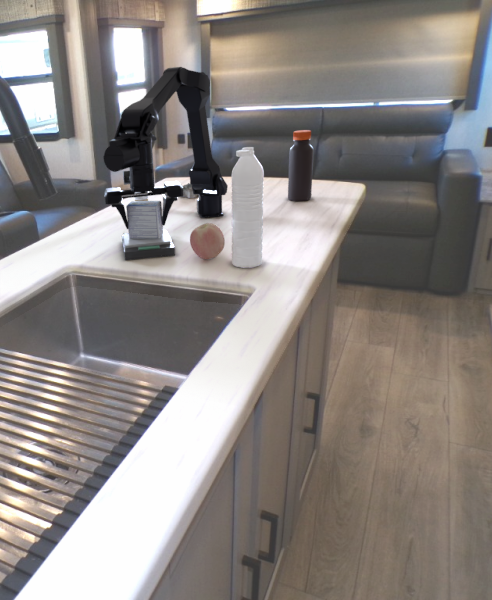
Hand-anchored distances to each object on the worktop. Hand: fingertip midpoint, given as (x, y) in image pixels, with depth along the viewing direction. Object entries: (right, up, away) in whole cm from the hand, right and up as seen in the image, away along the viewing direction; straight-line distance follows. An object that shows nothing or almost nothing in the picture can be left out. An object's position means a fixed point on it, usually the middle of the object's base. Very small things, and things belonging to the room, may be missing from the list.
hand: (145, 226), depth 134 cm
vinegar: (+49, +13, +32) cm, 60 cm away
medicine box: (0, -2, +1) cm, 3 cm away
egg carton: (+20, +18, +50) cm, 57 cm away
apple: (+14, -9, -9) cm, 19 cm away
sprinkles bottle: (+1, +11, +39) cm, 40 cm away
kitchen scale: (+1, -5, +1) cm, 5 cm away
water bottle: (+21, -11, -16) cm, 28 cm away
